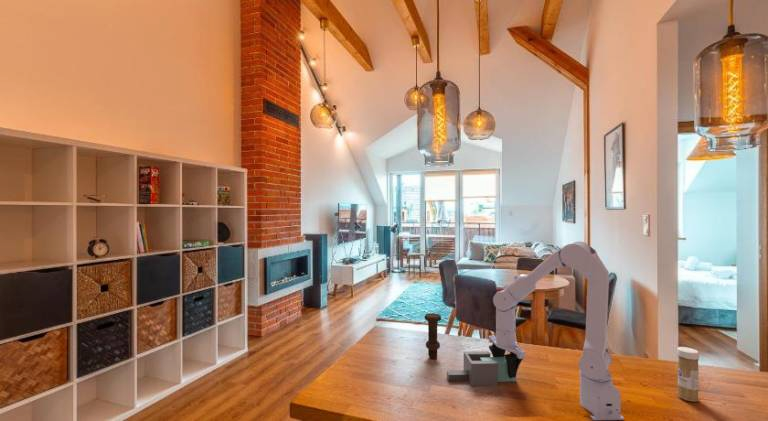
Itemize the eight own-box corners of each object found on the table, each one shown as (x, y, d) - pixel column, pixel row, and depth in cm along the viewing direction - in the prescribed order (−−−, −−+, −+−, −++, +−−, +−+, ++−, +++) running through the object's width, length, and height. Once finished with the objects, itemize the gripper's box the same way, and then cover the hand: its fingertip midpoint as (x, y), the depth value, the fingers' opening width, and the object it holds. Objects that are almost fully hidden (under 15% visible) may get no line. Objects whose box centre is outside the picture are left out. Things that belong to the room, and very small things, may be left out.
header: (498, 385, 104) (498, 363, 104) (451, 386, 104) (451, 364, 104) (488, 371, 113) (488, 351, 113) (445, 372, 113) (445, 351, 113)
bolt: (441, 355, 126) (441, 313, 126) (441, 361, 121) (440, 317, 121) (425, 354, 127) (424, 312, 127) (424, 360, 122) (424, 316, 122)
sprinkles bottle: (673, 394, 99) (672, 346, 99) (687, 393, 100) (687, 346, 100) (688, 403, 95) (688, 353, 95) (703, 402, 95) (703, 352, 95)
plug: (516, 381, 107) (516, 362, 107) (483, 381, 107) (483, 362, 107) (511, 375, 111) (511, 356, 111) (479, 375, 111) (479, 357, 111)
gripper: (533, 335, 103) (533, 381, 103) (501, 320, 117) (501, 361, 117) (513, 338, 101) (513, 385, 101) (483, 323, 115) (483, 364, 115)
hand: (505, 373), depth 109 cm, fingers closed on plug, 5 cm apart
